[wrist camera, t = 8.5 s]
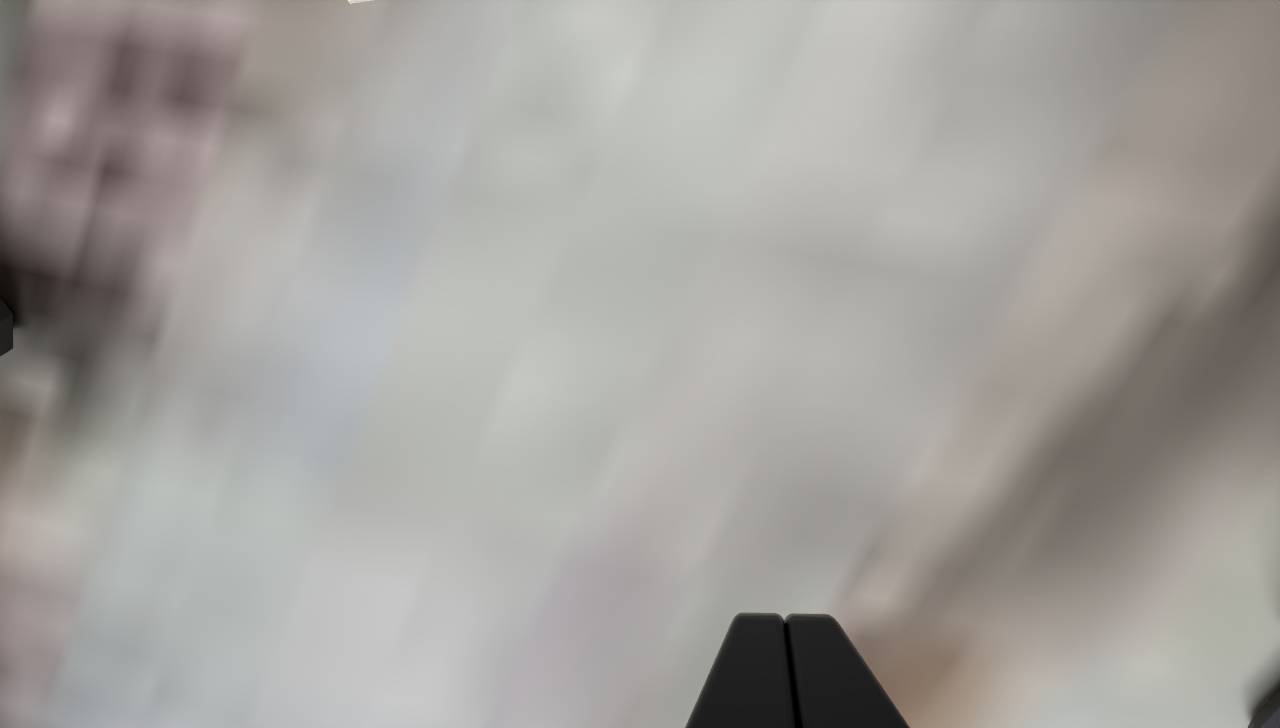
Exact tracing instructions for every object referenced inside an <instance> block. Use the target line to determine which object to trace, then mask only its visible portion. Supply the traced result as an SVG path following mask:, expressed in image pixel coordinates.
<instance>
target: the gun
mask: <svg viewBox="0 0 1280 728" xmlns="http://www.w3.org/2000/svg"><path fill="white" fill-rule="evenodd" d="M11 349H13V314H12V312H11V311H10V310H9V308H8V307H7V306H6V305H5V303H4V302H3V301H2V299H1V298H0V356H2V355H3V354H5V353H6V352H8V351H10V350H11Z"/></svg>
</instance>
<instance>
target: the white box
mask: <svg viewBox="0 0 1280 728" xmlns="http://www.w3.org/2000/svg"><path fill="white" fill-rule="evenodd" d="M364 1H371V0H348V2H349V3H350V4H352V3H358V2H364Z"/></svg>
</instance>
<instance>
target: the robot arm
mask: <svg viewBox="0 0 1280 728" xmlns="http://www.w3.org/2000/svg"><path fill="white" fill-rule="evenodd" d="M685 728H910V727H909V726H908V724H907V723H906V721H905V720H904V718H903V717H902V715H901V714H900V712H899V711H898V709H897V708H896V707H895V705H894V704H893V702H892V701H891V699H890V698H889V696H888V695H887V693H886V692H885V690H884V689H883V688H882V686H881V685H880V683H879V682H878V680H877V679H876V677H875V676H874V674H873V673H872V671H871V670H870V669H869V667H868V666H867V664H866V663H865V661H864V660H863V658H862V657H861V655H860V654H859V652H858V651H857V650H856V648H855V647H854V645H853V644H852V642H851V641H850V639H849V638H848V636H847V635H846V633H845V632H844V631H843V629H842V628H841V626H840V625H839V623H838V622H837V621H836V619H835V618H833V617H832V616H830V615H827V614H790V615H788V616H787V617H786V618H785V620H783V618H782V617H781V616H780V615H779V614H776V613H739V614H737V615H736V616H735V617H734V619H733V621H732V623H731V625H730V627H729V630H728V632H727V634H726V636H725V639H724V641H723V643H722V645H721V648H720V650H719V652H718V655H717V657H716V659H715V661H714V664H713V666H712V668H711V670H710V673H709V675H708V677H707V679H706V682H705V684H704V686H703V689H702V691H701V693H700V695H699V698H698V700H697V702H696V704H695V707H694V709H693V711H692V714H691V716H690V718H689V720H688V723H687V725H686V727H685ZM1248 728H1280V690H1279V691H1278V692H1277V693H1276V694H1275V695H1274V696H1273V697H1272V698H1271V699H1270V701H1269V702H1268V703H1267V704H1266V705H1265V706H1264V707H1263V708H1262V709H1261V710H1260V711H1259V712H1258V713H1257V715H1256V716H1255V717H1254V718H1253V719H1252V720H1251V722H1250V724H1249V726H1248Z"/></svg>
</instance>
